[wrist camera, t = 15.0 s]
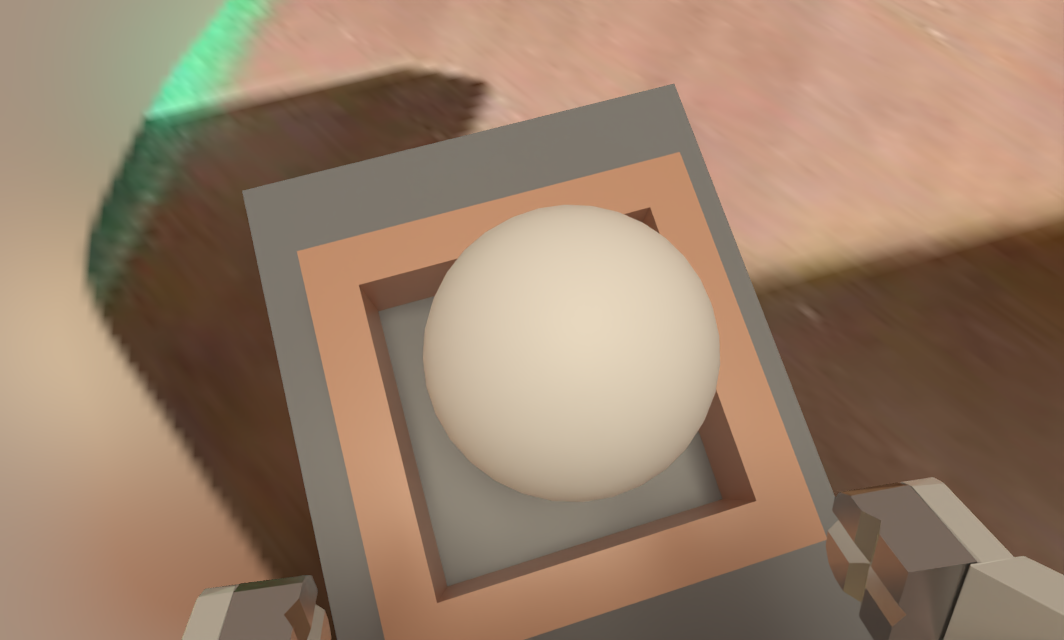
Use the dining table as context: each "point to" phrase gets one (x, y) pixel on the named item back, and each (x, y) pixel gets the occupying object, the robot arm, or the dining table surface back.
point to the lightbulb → (571, 353)
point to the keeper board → (471, 495)
